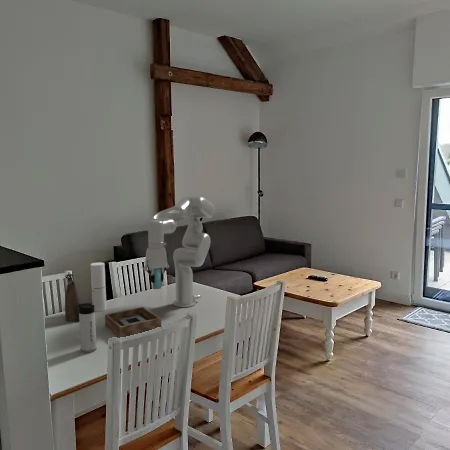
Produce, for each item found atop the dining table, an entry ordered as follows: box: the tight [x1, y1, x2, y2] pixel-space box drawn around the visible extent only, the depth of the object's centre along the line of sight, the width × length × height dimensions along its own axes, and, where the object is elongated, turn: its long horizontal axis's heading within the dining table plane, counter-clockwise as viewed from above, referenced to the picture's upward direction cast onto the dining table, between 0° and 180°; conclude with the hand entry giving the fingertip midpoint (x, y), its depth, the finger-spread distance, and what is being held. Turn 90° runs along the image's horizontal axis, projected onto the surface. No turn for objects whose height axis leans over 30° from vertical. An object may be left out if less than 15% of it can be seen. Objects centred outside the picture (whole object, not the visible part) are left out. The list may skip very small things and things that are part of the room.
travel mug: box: [78, 302, 97, 354], centre depth 183 cm, size 6×7×20 cm
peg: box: [152, 268, 162, 290], centre depth 217 cm, size 4×4×10 cm
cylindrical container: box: [90, 261, 107, 313], centre depth 234 cm, size 7×7×25 cm
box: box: [104, 306, 162, 339], centre depth 208 cm, size 20×20×6 cm
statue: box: [64, 271, 80, 323], centre depth 219 cm, size 9×8×25 cm
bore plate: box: [118, 315, 146, 326], centre depth 208 cm, size 10×10×3 cm
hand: (156, 281), depth 218 cm, fingers closed on peg, 4 cm apart
